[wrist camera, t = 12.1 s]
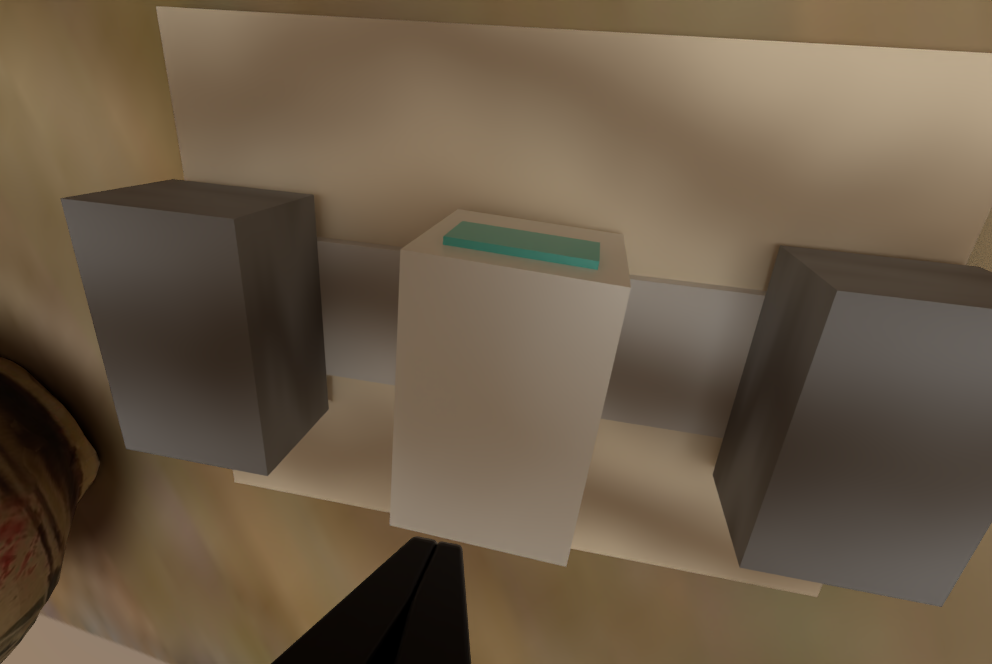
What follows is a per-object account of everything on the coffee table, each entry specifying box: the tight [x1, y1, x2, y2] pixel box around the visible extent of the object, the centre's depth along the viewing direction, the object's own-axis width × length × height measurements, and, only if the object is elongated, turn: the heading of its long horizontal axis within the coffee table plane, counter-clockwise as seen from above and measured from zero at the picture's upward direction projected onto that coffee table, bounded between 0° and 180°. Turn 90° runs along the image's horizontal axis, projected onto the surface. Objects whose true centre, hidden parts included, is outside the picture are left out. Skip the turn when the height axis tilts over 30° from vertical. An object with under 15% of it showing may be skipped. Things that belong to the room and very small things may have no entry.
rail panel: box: [61, 6, 992, 607], centre depth 16 cm, size 18×24×6 cm
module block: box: [390, 209, 631, 567], centre depth 15 cm, size 8×5×5 cm, turn 173°
